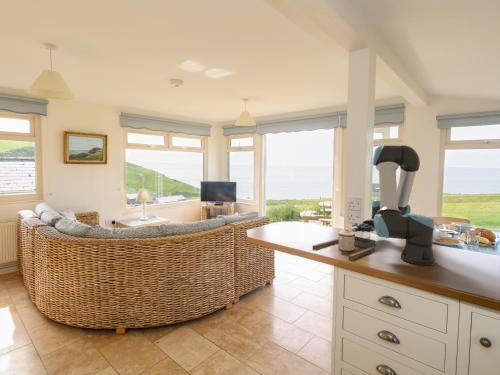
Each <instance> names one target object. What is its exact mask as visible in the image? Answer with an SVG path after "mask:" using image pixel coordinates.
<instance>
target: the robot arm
mask: <svg viewBox="0 0 500 375" xmlns="http://www.w3.org/2000/svg"><path fill="white" fill-rule="evenodd" d="M420 163H421V161H420V157H419V154H418V153H417V151H416V150H415V149H414V148H413V147H411V146H409V145H403V144H402V145H395V144H394V145H391V144H390V145H387V144H384V145H383V144H382V145H376V147H375V149H374V154H373V158H372V166H375V169H376V170H377V171H378V175H379V176H378V180H379V184H378V186H379V199H373V200H372V204H371V217H370V218H371V219H365V220H363V222H362V223H356V222H355V223H354V224H352V225H351V227H349V231H351V232H353V233H356V232H362V233H363V232H367V233H370V232H371V233H372V232H375V233H376V235H377V237H380V238H385V239H397V240H398V239H399V240H405V244H404V246H403V248H402V250H401V253H400V259H401V260H402V261H404V262H406V261H407V262H406V263H409V262H410V263H409V264H413V263H415V264H414V265H418V264H421V265H420V266H433V265H432V264H434V265H435V264H436V256H435V252H434V249H433V243H434V242H433V241H434V231H435V230H434V229H435V222H434V219H433V218H431V217H429V216H426V215H421V214H417V213H411V206H410V204H409V201H410V197H411V193H412V188H413V187H414V180H415V177H416V173H417V172H419V170H420V169H419V168H420V165H421V164H420ZM399 168H400V173H399V178H398V183H397V170H398V169H399ZM397 184H398V185H397Z"/></svg>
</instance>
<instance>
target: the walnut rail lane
mask: <svg viewBox="0 0 500 375" xmlns="http://www.w3.org/2000/svg"><path fill="white" fill-rule="evenodd" d="M336 244H338V238H335V239H331V240H328V241H324V242H321V243H317V244H313V245H312V250H314V251H316V250H319V249H322V248H326V247H328V246H331V245H336ZM375 249H376V248H375V246H373V247H370V248H368V249H366V248H364V249H362V250H360V251H357V252H354V253H351V254H349V255H348V260H349V261H353V260H356V259H359V258H360V257H363V256H366V255H369V254H371V253H373V252H375Z"/></svg>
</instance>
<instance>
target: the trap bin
mask: <svg viewBox="0 0 500 375" xmlns="http://www.w3.org/2000/svg"><path fill="white" fill-rule="evenodd" d="M376 241H377V240H376V239H375V240H374V239H370V238H365V237H361V236H356V235H355V238H354V247H358V248H361V249H368V248H370V247H375V246H376V244H377V242H376Z"/></svg>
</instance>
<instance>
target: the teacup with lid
mask: <svg viewBox="0 0 500 375" xmlns="http://www.w3.org/2000/svg"><path fill="white" fill-rule="evenodd" d="M355 233H356V232H351V231H350V228H347V227H345V228H344V229H343V230H341V231H338V233H337V235H338V236H337V237H338V238H337V239H338V243H337V247H338V249H339V250H341V251H345V252H350V251H351V252H352V251H354V250H355V246H354V238H355V236H356V234H355Z"/></svg>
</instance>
